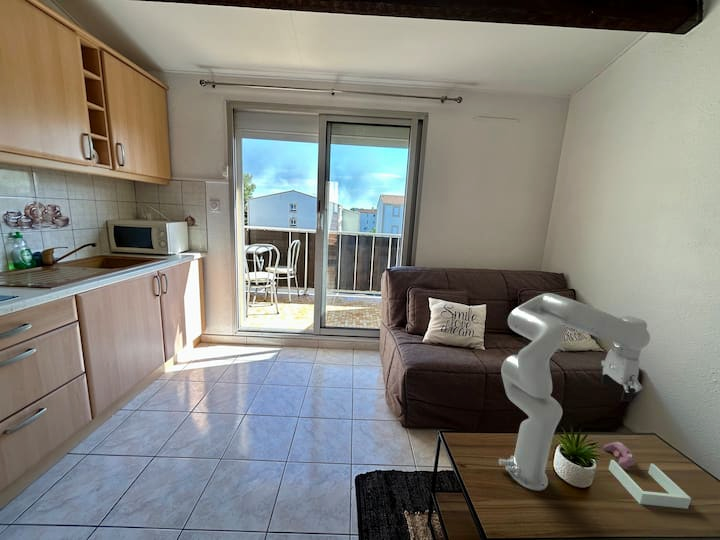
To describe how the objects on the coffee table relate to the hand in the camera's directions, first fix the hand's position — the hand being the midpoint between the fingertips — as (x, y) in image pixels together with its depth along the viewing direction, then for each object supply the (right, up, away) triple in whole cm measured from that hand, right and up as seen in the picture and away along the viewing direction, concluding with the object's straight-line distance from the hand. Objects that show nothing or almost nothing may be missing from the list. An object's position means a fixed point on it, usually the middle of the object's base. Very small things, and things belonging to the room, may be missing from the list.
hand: (615, 392), depth 109 cm
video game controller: (+4, -27, +3) cm, 28 cm away
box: (+3, -29, -8) cm, 30 cm away
